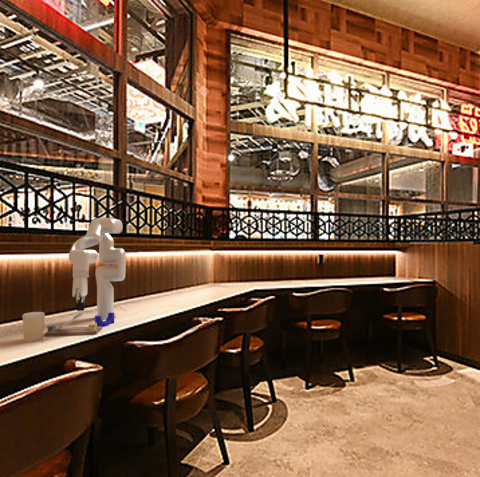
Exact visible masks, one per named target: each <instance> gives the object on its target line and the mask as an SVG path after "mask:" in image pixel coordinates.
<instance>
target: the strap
mask: <svg viewBox="0 0 480 477" xmlns="http://www.w3.org/2000/svg"><path fill="white" fill-rule="evenodd" d="M85 314H86V311H82V313H81V312H80V313H78V314H77V315H76V316H74V317H72V319H70V320H68V321H66V322H65V323H63V324H61V325H60V326H58V327H57V328H56V329H55V331H57V330H58V329H60V328H65V326H67V325H69V324H70V323H72V322H74V321H76V320H77V319H79V318H81V317H82V316H85Z"/></svg>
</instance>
